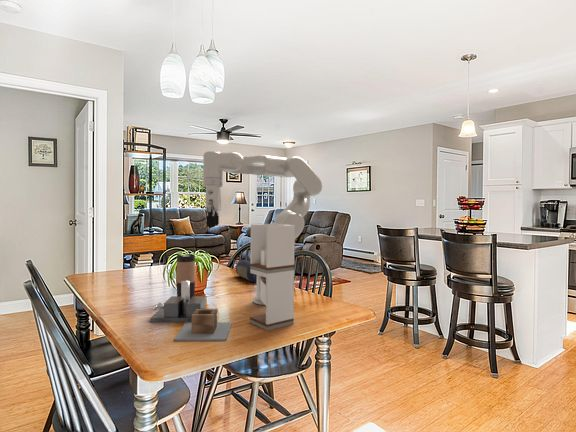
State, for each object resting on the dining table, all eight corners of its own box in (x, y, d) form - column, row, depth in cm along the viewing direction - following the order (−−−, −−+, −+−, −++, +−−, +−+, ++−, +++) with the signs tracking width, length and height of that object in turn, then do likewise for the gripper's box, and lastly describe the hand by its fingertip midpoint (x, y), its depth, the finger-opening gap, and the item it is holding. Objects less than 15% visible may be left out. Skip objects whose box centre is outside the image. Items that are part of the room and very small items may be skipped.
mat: (231, 324, 132) (231, 322, 132) (225, 340, 116) (225, 338, 116) (185, 324, 131) (185, 322, 131) (173, 341, 115) (173, 339, 115)
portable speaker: (233, 276, 217) (233, 259, 217) (249, 274, 222) (249, 258, 222) (250, 284, 195) (250, 265, 195) (267, 283, 200) (267, 264, 200)
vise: (217, 312, 146) (217, 277, 145) (212, 322, 134) (212, 284, 133) (160, 312, 145) (160, 277, 144) (150, 322, 133) (150, 284, 132)
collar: (216, 326, 127) (216, 309, 127) (213, 333, 120) (213, 315, 120) (196, 326, 127) (196, 309, 127) (191, 333, 120) (191, 315, 120)
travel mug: (190, 304, 156) (190, 256, 156) (173, 303, 158) (173, 256, 157) (198, 299, 164) (198, 254, 163) (181, 298, 166) (181, 253, 165)
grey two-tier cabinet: (275, 316, 141) (276, 223, 140) (293, 324, 133) (294, 225, 132) (249, 322, 134) (250, 224, 133) (267, 330, 126) (268, 226, 124)
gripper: (219, 181, 141) (219, 227, 142) (225, 184, 158) (225, 224, 159) (199, 181, 141) (199, 227, 142) (207, 183, 158) (207, 224, 159)
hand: (212, 225), depth 150 cm, fingers open, 9 cm apart
